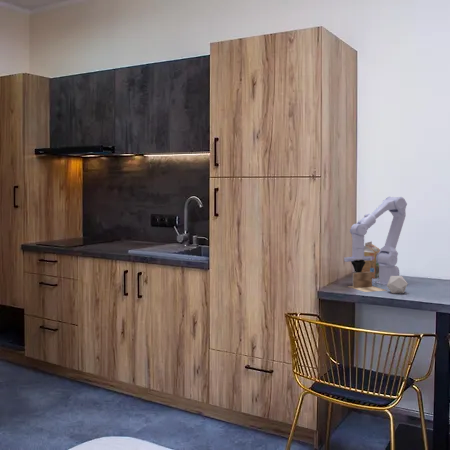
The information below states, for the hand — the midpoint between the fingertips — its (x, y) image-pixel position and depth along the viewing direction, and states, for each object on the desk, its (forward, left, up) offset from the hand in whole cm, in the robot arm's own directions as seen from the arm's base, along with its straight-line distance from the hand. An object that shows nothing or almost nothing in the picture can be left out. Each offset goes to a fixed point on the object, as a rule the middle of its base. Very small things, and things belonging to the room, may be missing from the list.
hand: (358, 275), depth 267 cm
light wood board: (0, +8, -5) cm, 9 cm away
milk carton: (-21, -24, -6) cm, 32 cm away
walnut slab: (0, +4, -5) cm, 6 cm away
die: (-7, +22, -5) cm, 24 cm away
